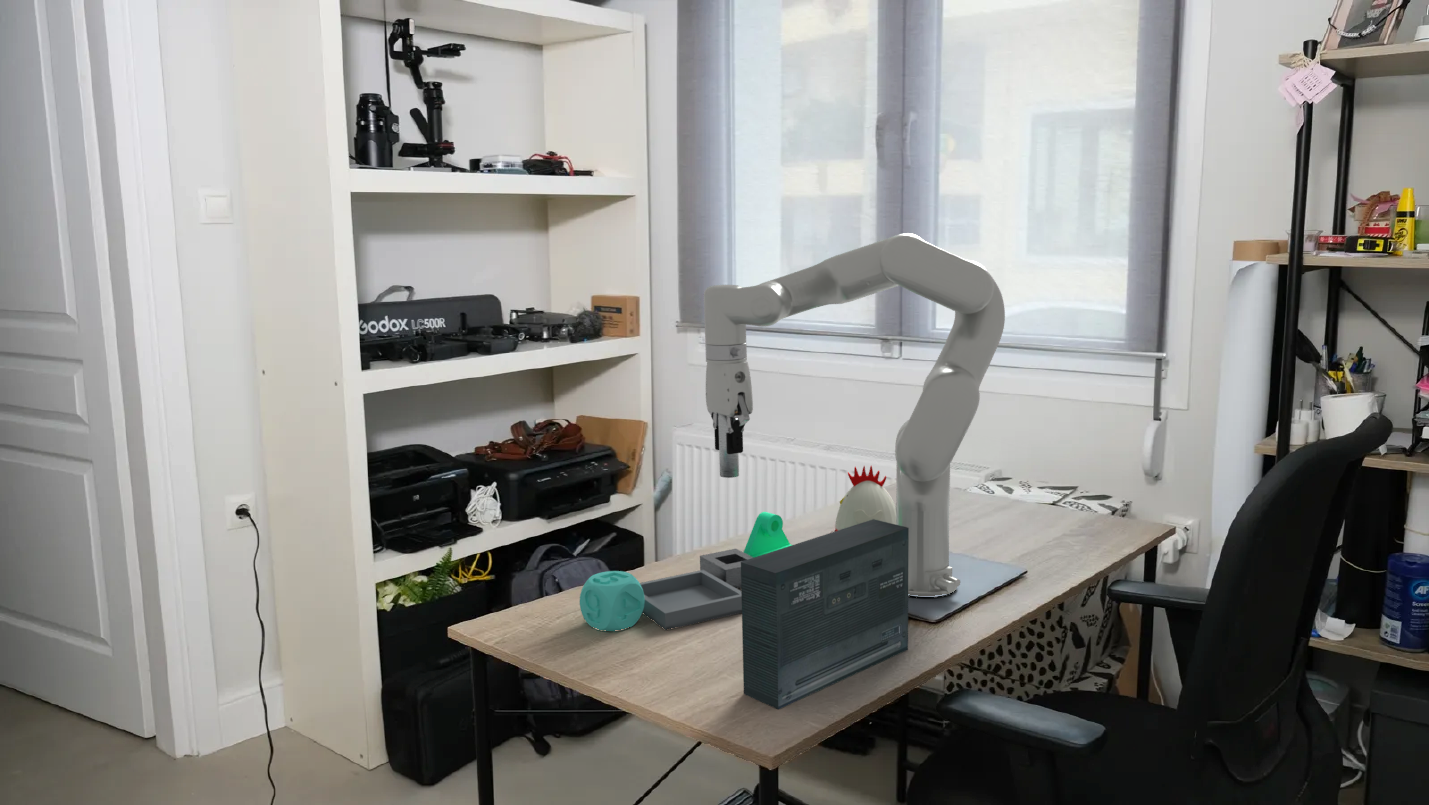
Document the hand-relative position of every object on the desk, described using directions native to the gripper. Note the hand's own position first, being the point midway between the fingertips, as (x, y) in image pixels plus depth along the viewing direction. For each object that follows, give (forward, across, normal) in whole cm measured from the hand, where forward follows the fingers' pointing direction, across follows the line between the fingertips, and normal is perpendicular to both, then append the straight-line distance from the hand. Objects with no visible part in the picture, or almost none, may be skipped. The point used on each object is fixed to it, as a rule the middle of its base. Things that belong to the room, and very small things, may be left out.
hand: (728, 450), depth 199 cm
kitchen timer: (+25, +9, -39) cm, 47 cm away
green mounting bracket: (+25, +2, -12) cm, 28 cm away
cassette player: (+25, -44, +8) cm, 51 cm away
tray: (+25, -8, +14) cm, 30 cm away
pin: (+5, 0, 0) cm, 5 cm away
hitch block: (+25, 0, 0) cm, 25 cm away
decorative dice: (+25, -8, +28) cm, 39 cm away
